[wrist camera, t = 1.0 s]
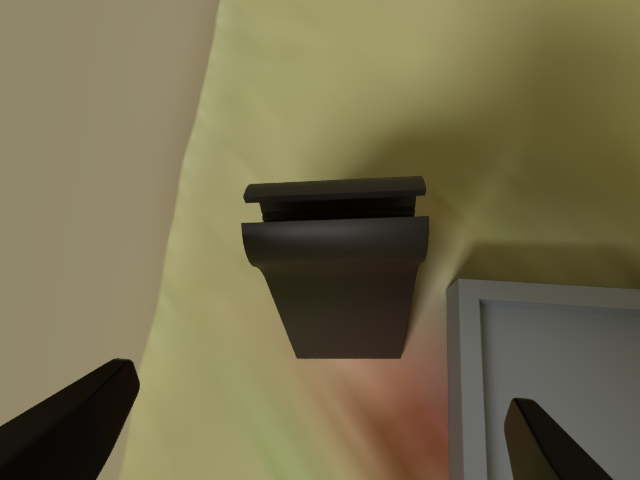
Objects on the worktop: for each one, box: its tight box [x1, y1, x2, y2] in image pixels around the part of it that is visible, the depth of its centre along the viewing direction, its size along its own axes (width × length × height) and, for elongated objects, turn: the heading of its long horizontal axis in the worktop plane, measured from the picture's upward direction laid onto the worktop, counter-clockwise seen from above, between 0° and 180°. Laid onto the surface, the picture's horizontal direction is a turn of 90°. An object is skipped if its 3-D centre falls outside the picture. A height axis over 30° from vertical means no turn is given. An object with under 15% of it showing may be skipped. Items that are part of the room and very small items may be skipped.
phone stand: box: [241, 176, 429, 359], centre depth 18 cm, size 9×6×12 cm, turn 0°
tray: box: [446, 279, 640, 480], centre depth 18 cm, size 16×16×3 cm
